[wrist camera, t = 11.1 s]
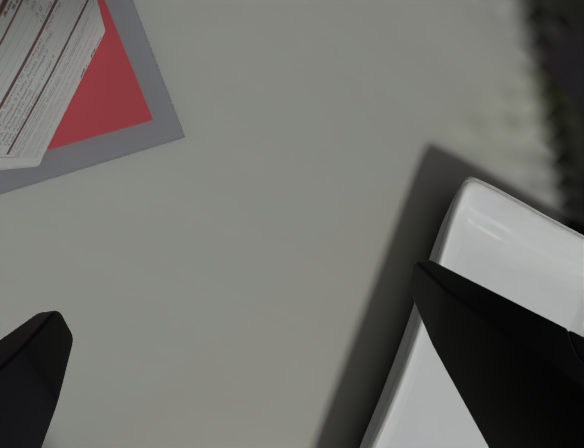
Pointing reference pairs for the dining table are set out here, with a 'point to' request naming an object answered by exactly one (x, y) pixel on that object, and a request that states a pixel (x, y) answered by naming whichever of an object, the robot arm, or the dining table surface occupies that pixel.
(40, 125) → the supplement box
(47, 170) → the ink pad tray
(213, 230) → the dining table surface
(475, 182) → the square plate
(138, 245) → the dining table surface
